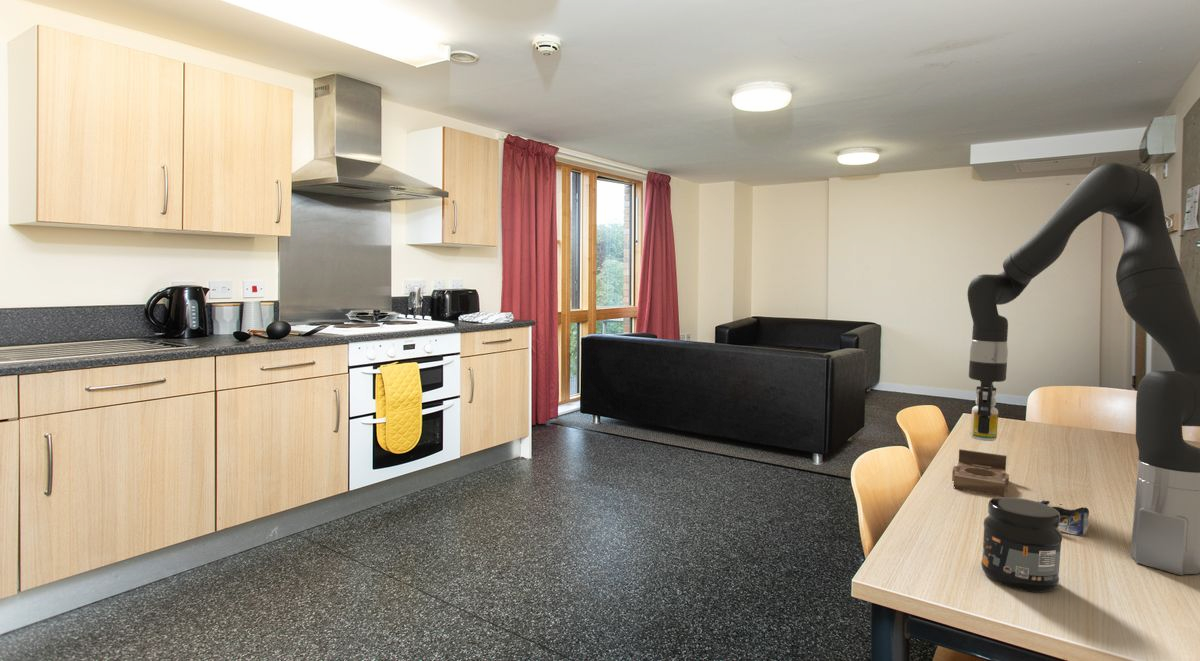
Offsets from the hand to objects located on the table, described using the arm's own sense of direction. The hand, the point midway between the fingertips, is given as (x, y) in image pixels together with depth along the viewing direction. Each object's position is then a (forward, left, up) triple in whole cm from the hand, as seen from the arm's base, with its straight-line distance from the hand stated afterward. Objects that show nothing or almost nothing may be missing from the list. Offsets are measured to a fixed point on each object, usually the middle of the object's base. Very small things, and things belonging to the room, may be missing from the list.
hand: (983, 430), depth 149 cm
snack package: (-16, -19, -14) cm, 28 cm away
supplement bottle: (0, 0, -2) cm, 2 cm away
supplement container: (-47, -26, -13) cm, 55 cm away
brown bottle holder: (0, 0, -13) cm, 13 cm away
